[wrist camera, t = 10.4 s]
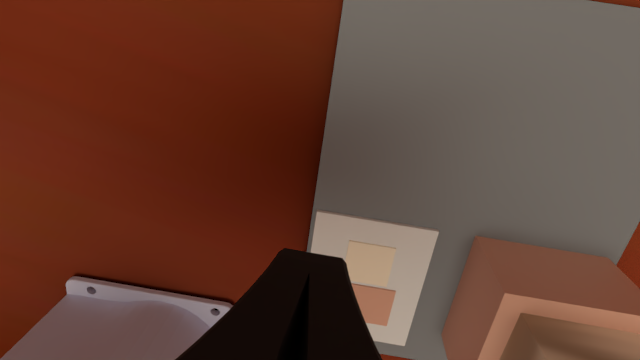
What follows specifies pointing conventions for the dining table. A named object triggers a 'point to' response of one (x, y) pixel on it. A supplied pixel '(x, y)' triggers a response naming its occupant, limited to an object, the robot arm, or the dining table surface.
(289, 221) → the dining table surface
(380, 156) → the build board
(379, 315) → the card
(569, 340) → the cream cube
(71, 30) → the dining table surface
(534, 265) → the terracotta block
